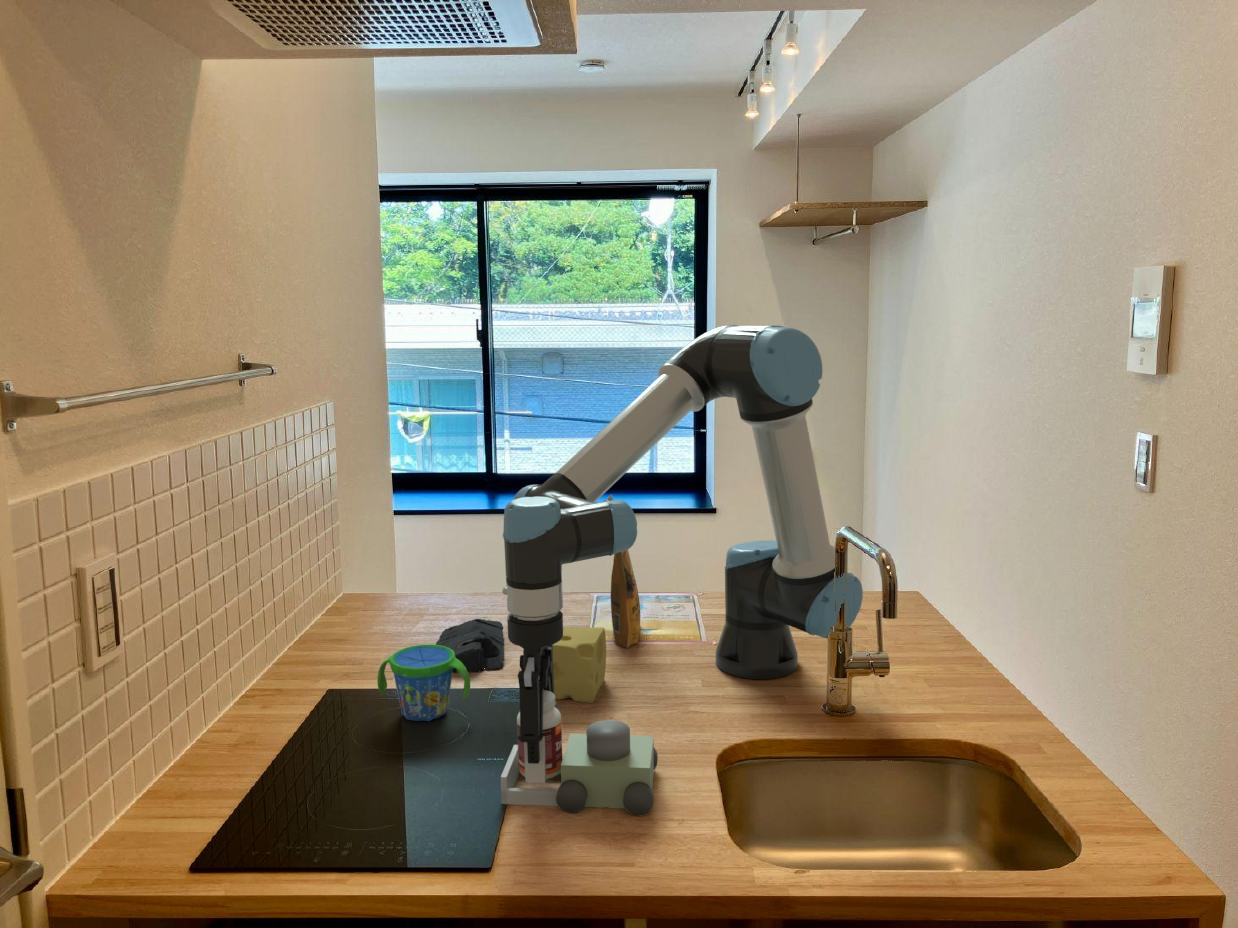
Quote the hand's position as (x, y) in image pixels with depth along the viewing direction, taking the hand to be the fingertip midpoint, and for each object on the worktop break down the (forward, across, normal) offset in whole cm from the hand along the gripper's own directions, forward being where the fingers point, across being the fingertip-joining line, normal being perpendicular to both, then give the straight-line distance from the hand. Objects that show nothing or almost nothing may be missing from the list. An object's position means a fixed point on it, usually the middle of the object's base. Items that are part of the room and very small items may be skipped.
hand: (540, 768), depth 129 cm
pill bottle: (+1, 0, 0) cm, 1 cm away
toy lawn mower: (+3, 0, +6) cm, 6 cm away
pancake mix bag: (+3, -60, +7) cm, 60 cm away
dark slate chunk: (+4, -50, -23) cm, 55 cm away
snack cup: (+3, -22, -23) cm, 32 cm away
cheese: (+3, -33, 0) cm, 33 cm away
